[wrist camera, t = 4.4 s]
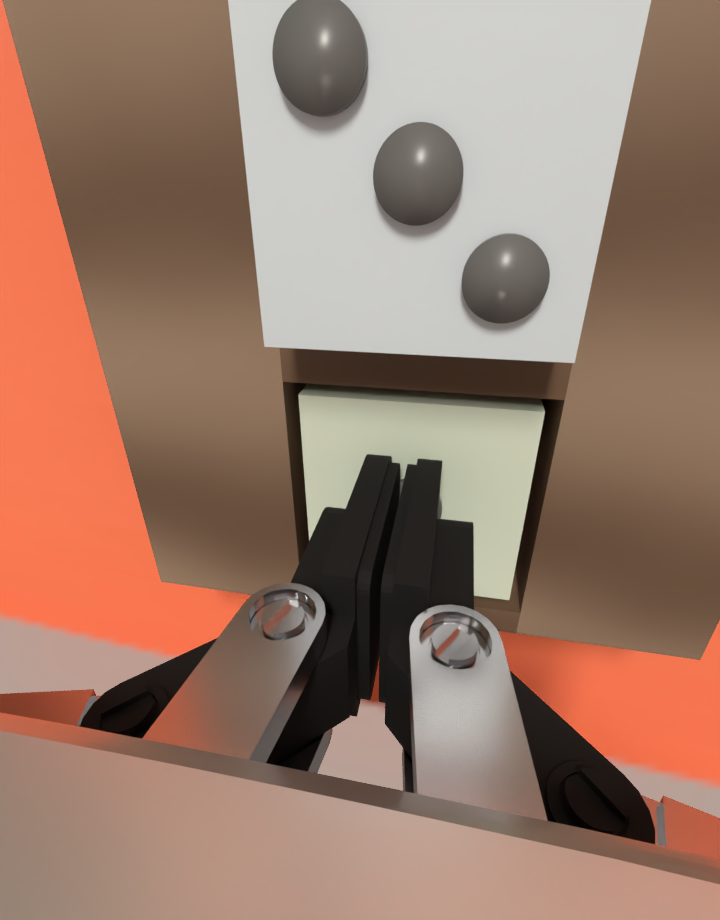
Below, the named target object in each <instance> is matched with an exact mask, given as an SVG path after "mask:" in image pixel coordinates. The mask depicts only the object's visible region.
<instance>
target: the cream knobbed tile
mask: <svg viewBox="0 0 720 920" xmlns="http://www.w3.org/2000/svg"><path fill="white" fill-rule="evenodd" d="M298 397H299V410H300V424H301V437H302V451H303V464H304V478H305V491H306V505H307V518H308V532H309V541H310V538H311V536H312V534H313V532H314V529H315V527H316V525H317V523H318V521H319V518H320V516H321V514H322V512H323V510H324V508H326V507H334V508H344V509H346V506H347V504H348V501H349V499H350V496H351V493H352V491H353V488H354V486H355V483H356V480H357V478H358V475H359V473H360V470H361V467H362V465H363V462H364V460H365V457H366V455H367V454H373V455H384V456H391V457H392V463H400V494H399V499H400V495H401V491H402V486H403V482H404V477H405V473H406V468H407V464H414V465H417V460H418V458H419V459H430V460H442V472H441V484H440V496H439V508H438V519H447V520H456V521H466V522H473V527H474V596H481V597H488V598H495V599H503V600H509V599H510V594H511V588H512V583H513V578H514V573H515V567H516V562H517V557H518V552H519V546H520V541H521V536H522V531H523V525H524V520H525V515H526V510H527V504H528V499H529V494H530V489H531V483H532V478H533V473H534V468H535V462H536V457H537V452H538V447H539V441H540V436H541V431H542V426H543V420H544V415H545V410H544V407H543V403H542V400H541V399H540V398H524V397H509V396H494V395H478V394H463V393H448V392H432V391H417V390H402V389H386V388H371V387H356V386H340V385H325V384H310V383H308V384H307V385H306V386H305V387H304V389H303V390H302V391H301V392H300V393H299V395H298Z"/></svg>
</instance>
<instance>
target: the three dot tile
mask: <svg viewBox="0 0 720 920" xmlns="http://www.w3.org/2000/svg"><path fill="white" fill-rule="evenodd" d="M650 4H651V0H228V5H229V14H230V24H231V33H232V43H233V53H234V62H235V72H236V81H237V91H238V100H239V110H240V119H241V129H242V138H243V148H244V158H245V167H246V177H247V186H248V196H249V205H250V215H251V224H252V234H253V243H254V253H255V263H256V272H257V282H258V291H259V301H260V310H261V320H262V329H263V339H264V347H277V348H297V349H316V350H335V351H354V352H373V353H392V354H411V355H430V356H449V357H468V358H487V359H506V360H525V361H544V362H563V363H575V359H576V354H577V350H578V345H579V340H580V335H581V331H582V326H583V321H584V317H585V312H586V307H587V302H588V298H589V293H590V288H591V283H592V279H593V274H594V269H595V264H596V260H597V255H598V250H599V245H600V241H601V236H602V231H603V226H604V222H605V217H606V212H607V208H608V203H609V198H610V193H611V189H612V184H613V179H614V174H615V170H616V165H617V160H618V155H619V151H620V146H621V141H622V136H623V132H624V127H625V122H626V117H627V113H628V108H629V103H630V99H631V94H632V89H633V84H634V80H635V75H636V70H637V65H638V61H639V56H640V51H641V46H642V42H643V37H644V32H645V27H646V23H647V18H648V13H649V9H650Z"/></svg>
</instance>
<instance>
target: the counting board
mask: <svg viewBox="0 0 720 920" xmlns="http://www.w3.org/2000/svg"><path fill="white" fill-rule="evenodd" d="M3 4H4V8H5V11H6V15H7V19H8V22H9V26H10V30H11V33H12V37H13V41H14V44H15V48H16V52H17V55H18V59H19V63H20V66H21V70H22V74H23V77H24V81H25V85H26V88H27V92H28V95H29V99H30V103H31V106H32V110H33V114H34V117H35V121H36V125H37V128H38V132H39V136H40V139H41V143H42V147H43V150H44V154H45V158H46V161H47V165H48V169H49V172H50V176H51V180H52V183H53V187H54V191H55V194H56V198H57V202H58V205H59V209H60V213H61V216H62V220H63V224H64V227H65V231H66V235H67V238H68V242H69V246H70V249H71V253H72V257H73V260H74V264H75V268H76V271H77V275H78V279H79V282H80V286H81V290H82V293H83V297H84V301H85V304H86V308H87V312H88V315H89V319H90V323H91V326H92V330H93V334H94V337H95V341H96V345H97V348H98V352H99V356H100V359H101V363H102V367H103V370H104V374H105V378H106V381H107V385H108V389H109V392H110V396H111V400H112V403H113V407H114V410H115V414H116V418H117V421H118V425H119V429H120V432H121V436H122V440H123V443H124V447H125V451H126V454H127V458H128V462H129V465H130V469H131V473H132V476H133V480H134V484H135V487H136V491H137V495H138V498H139V502H140V506H141V509H142V513H143V517H144V520H145V524H146V528H147V531H148V535H149V539H150V542H151V546H152V550H153V553H154V557H155V561H156V564H157V568H158V572H159V575H160V579H161V582H168V583H175V584H181V585H188V586H195V587H202V588H209V589H216V590H223V591H230V592H236V593H243V594H250V595H253V594H254V593H256V592H258V591H259V590H261V589H263V588H265V587H268V586H271V585H274V584H280V583H291V581H292V578H293V576H294V574H295V572H296V569H297V567H298V565H299V563H300V561H301V558H302V556H303V554H304V552H305V549H306V547H307V545H308V543H309V532H308V518H307V505H306V491H305V478H304V464H303V451H302V437H301V424H300V410H299V397H298V395H299V393H300V392H301V391H302V390H303V389H304V387H305V386H306V385H307V384H308V383H310V384H325V385H340V386H356V387H371V388H386V389H402V390H417V391H432V392H448V393H463V394H478V395H494V396H509V397H524V398H540V399H541V400H542V403H543V407H544V410H545V415H544V420H543V426H542V431H541V436H540V441H539V447H538V452H537V457H536V462H535V468H534V473H533V478H532V483H531V489H530V494H529V499H528V504H527V510H526V515H525V520H524V525H523V531H522V536H521V541H520V546H519V552H518V557H517V562H516V567H515V573H514V578H513V583H512V588H511V594H510V599H509V600H503V599H495V598H488V597H481V596H474V610H475V611H477V612H479V613H480V614H482V615H483V616H485V617H486V618H488V619H489V620H490V622H491V623H492V624H493V625H494V626H495V627H496V628H497V630H498V631H505V632H511V633H518V634H525V635H532V636H539V637H546V638H553V639H560V640H566V641H573V642H580V643H587V644H594V645H601V646H608V647H615V648H621V649H628V650H635V651H642V652H649V653H656V654H663V655H670V656H676V657H683V658H690V659H697V660H700V659H701V657H702V655H703V653H704V651H705V649H706V647H707V645H708V643H709V641H710V638H711V636H712V634H713V632H714V630H715V628H716V626H717V624H718V622H719V620H720V0H651V4H650V9H649V13H648V18H647V23H646V27H645V32H644V37H643V42H642V46H641V51H640V56H639V61H638V65H637V70H636V75H635V80H634V84H633V89H632V94H631V99H630V103H629V108H628V113H627V117H626V122H625V127H624V132H623V136H622V141H621V146H620V151H619V155H618V160H617V165H616V170H615V174H614V179H613V184H612V189H611V193H610V198H609V203H608V208H607V212H606V217H605V222H604V226H603V231H602V236H601V241H600V245H599V250H598V255H597V260H596V264H595V269H594V274H593V279H592V283H591V288H590V293H589V298H588V302H587V307H586V312H585V317H584V321H583V326H582V331H581V335H580V340H579V345H578V350H577V354H576V359H575V363H563V362H544V361H525V360H506V359H487V358H468V357H449V356H430V355H411V354H392V353H373V352H354V351H335V350H316V349H297V348H277V347H264V339H263V329H262V320H261V310H260V301H259V291H258V282H257V272H256V263H255V253H254V243H253V234H252V224H251V215H250V205H249V196H248V186H247V177H246V167H245V158H244V148H243V138H242V129H241V119H240V110H239V100H238V91H237V81H236V72H235V62H234V53H233V43H232V33H231V24H230V14H229V5H228V0H3Z"/></svg>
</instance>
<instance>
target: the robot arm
mask: <svg viewBox="0 0 720 920" xmlns="http://www.w3.org/2000/svg"><path fill="white" fill-rule="evenodd" d="M441 472H442V460H430V459H419V458H418V460H417V465H414V464H407V468H406V473H405V477H404V482H403V486H402V491H401V495H400V499H399V494H400V463H392V457H391V456H384V455H373V454H367V455H366V457H365V460H364V462H363V465H362V467H361V470H360V473H359V475H358V478H357V480H356V483H355V486H354V488H353V491H352V493H351V496H350V499H349V501H348V504H347V506H346V509H344V508H334V507H326V508H324V510H323V512H322V514H321V516H320V518H319V521H318V523H317V525H316V527H315V529H314V532H313V534H312V536H311V538H310V541H309V543H308V545H307V547H306V549H305V552H304V554H303V556H302V558H301V561H300V563H299V565H298V567H297V569H296V572H295V574H294V576H293V578H292V581H291V583H280V584H274V585H271V586H268V587H265V588H263V589H261V590H259V591H258V592H256V593H254V594H253V595H252V596H251V597H250V598H249V599H248V600H247V601H246V602H245V603H244V604H243V605H242V607H241V608H240V609H239V611H238V612H237V613H236V615H235V616H234V617H233V619H232V620H231V621H230V623H229V624H228V625H227V627H226V628H225V629H224V631H223V632H222V633H221V635H220V636H219V637H218V638H217V639H214V640H212V641H210V642H208V643H206V644H204V645H202V646H199V647H197V648H195V649H193V650H191V651H189V652H186V653H184V654H182V655H180V656H178V657H176V658H174V659H171V660H169V661H167V662H165V663H163V664H161V665H159V666H156V667H154V668H152V669H150V670H148V671H146V672H144V673H141V674H139V675H137V676H135V677H133V678H131V679H129V680H127V681H124V682H122V683H120V684H119V685H117V686H115V687H114V688H112V689H110V690H108V691H107V692H105V693H104V694H103V695H102V696H96V694H95V692H94V690H71V691H52V692H32V693H10V694H0V920H720V818H717V817H715V816H712V815H710V814H708V813H705V812H703V811H700V810H697V809H695V808H693V807H690V806H687V805H685V804H682V803H680V802H677V801H675V800H673V799H670V798H667V797H665V796H663V797H662V799H661V801H660V803H659V802H657V801H655V800H652V799H649V798H647V797H645V796H642V795H640V793H639V791H638V790H637V789H636V788H635V787H634V786H633V784H632V783H631V782H630V781H629V780H628V779H627V778H626V777H625V775H624V774H622V773H621V772H620V771H619V770H618V769H617V768H616V767H615V766H614V765H613V764H611V763H610V762H609V761H608V760H607V759H606V758H605V757H604V756H603V755H602V754H601V753H599V752H598V751H597V750H596V749H595V748H594V747H593V746H592V745H591V744H590V743H588V742H587V741H586V740H585V739H584V738H583V737H582V736H581V735H580V734H579V733H578V732H576V731H575V730H574V729H573V728H572V727H571V726H570V725H569V724H568V723H567V722H565V721H564V720H563V719H562V718H561V717H560V716H559V715H558V714H557V713H556V712H555V711H553V710H552V709H551V708H550V707H549V706H548V705H547V704H546V703H545V702H544V701H542V700H541V699H540V698H539V697H538V696H537V695H536V694H535V693H534V692H533V691H532V690H530V689H529V688H528V687H527V686H526V685H525V684H524V683H523V682H522V681H521V680H519V679H518V678H517V677H516V676H515V675H514V674H513V673H512V672H511V671H510V670H509V666H508V662H507V658H506V655H505V651H504V647H503V643H502V639H501V637H500V635H499V633H498V630H497V628H496V627H495V626H494V625H493V624H492V623H491V622H490V620H489V619H488V618H486V617H485V616H483V615H482V614H480V613H479V612H477V611H475V610H474V527H473V522H466V521H456V520H447V519H438V508H439V496H440V484H441ZM379 655H380V661H379V702H384V703H385V724H386V726H387V727H388V728H389V730H390V731H391V732H392V733H393V735H394V736H395V737H396V739H397V740H398V741H399V743H400V744H401V745H402V747H403V753H402V765H403V791H400V790H396V789H391V788H386V787H381V786H376V785H371V784H366V783H361V782H356V781H351V780H346V779H341V778H336V777H331V776H326V775H322V774H317V772H318V769H319V767H320V765H321V762H322V760H323V757H324V755H325V753H326V750H327V748H328V746H329V743H330V739H331V735H332V728H333V727H334V726H336V725H337V724H339V723H341V722H342V721H344V720H345V719H347V718H349V717H350V715H351V716H357V713H358V709H359V704H360V699H367V700H370V699H371V696H372V691H373V686H374V681H375V676H376V670H377V665H378V660H379Z"/></svg>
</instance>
